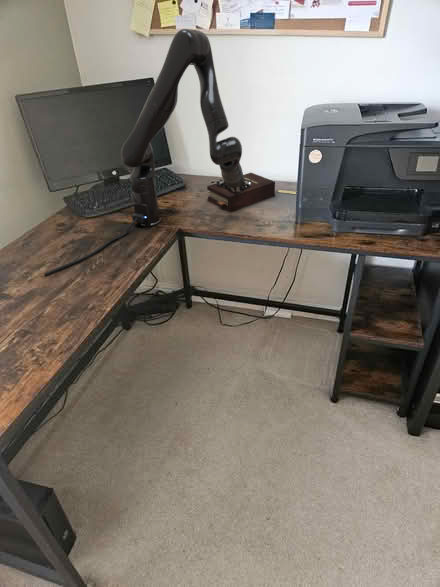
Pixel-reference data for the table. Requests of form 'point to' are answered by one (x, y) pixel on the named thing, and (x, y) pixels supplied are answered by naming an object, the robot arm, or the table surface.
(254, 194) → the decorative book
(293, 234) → the table surface
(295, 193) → the tape mark
